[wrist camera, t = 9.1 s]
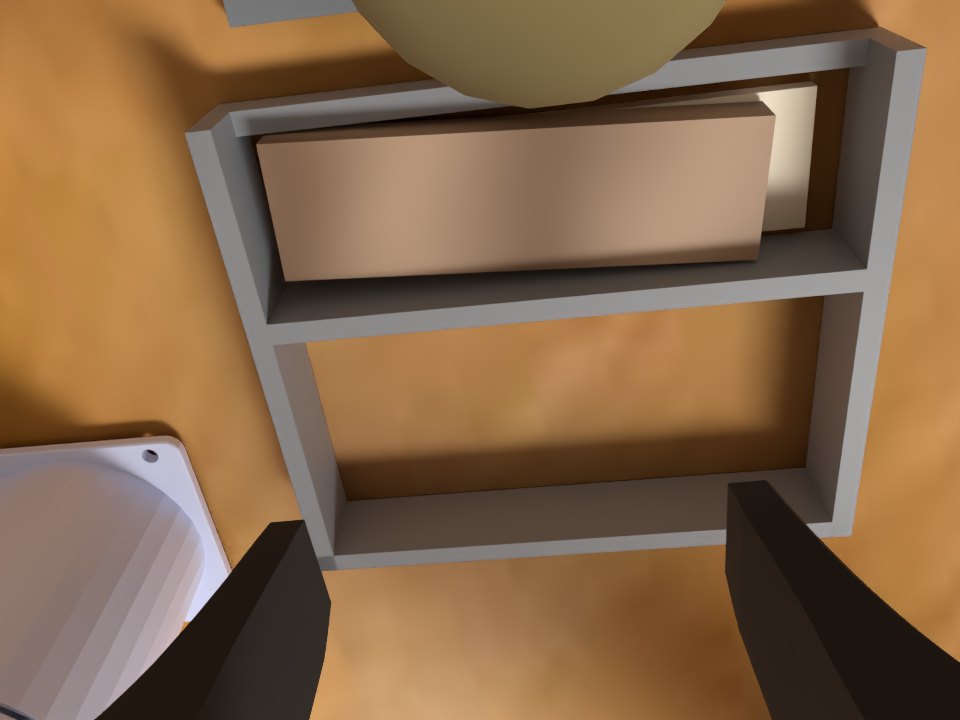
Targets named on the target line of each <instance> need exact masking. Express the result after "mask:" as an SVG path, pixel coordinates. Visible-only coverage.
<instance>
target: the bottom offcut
mask: <svg viewBox="0 0 960 720" xmlns="http://www.w3.org/2000/svg"><path fill="white" fill-rule="evenodd" d="M816 96H817V85H816V84H814V83H813V82H812V81H806V82H797V83H788V84H780V85H771V86H762V87H754V88H745V89H736V90H728V91H719V92H710V93H702V94H693V95H684V96H676V97H667V98H658V99H650V100H641V101H632V102H623V103H615V104H606V105H597V106H589V107H580V108H571V109H563V110H554V111H545V112H537V113H528V114H543V113H561V112H578V111H596V110H613V109H631V108H648V107H666V106H683V105H701V104H718V103H736V102H753V101H763V102H764V103H765V104H766V105H767V106H768V107H769V108H770V109H771V111H772V112H773V113H774V114H775V115H776V120H775V128H774V136H773V144H772V152H771V160H770V168H769V175H768V183H767V191H766V199H765V207H764V215H763V223H762V231H772V230H782V229H792V228H802V227H805V218H806V207H807V196H808V185H809V174H810V163H811V151H812V140H813V129H814V118H815V107H816ZM519 115H526V114H519ZM762 231H761V232H762Z"/></svg>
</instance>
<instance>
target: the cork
mask: <svg viewBox="0 0 960 720" xmlns="http://www.w3.org/2000/svg"><path fill="white" fill-rule="evenodd" d="M352 1H353V3H354V5H355V7H356V9H357V11H358V12H359V13H360V14H361V15H362V16H363V17H364V18H365V19H366V20H367V21H368V22H369V23H370V24H371V26H372V27H373V28H374V29H375V30H376V31H377V32H378V33H379V34H380V35H381V36H382V37H383V38H384V39H385V40H386V41H387V43H388V44H389V45H390V46H391V47H392V48H393V49H394V50H395V51H396V52H397V53H398V54H399V55H400V56H401V57H402V59H403V60H404V61H405V62H407V63H408V64H410V65H412V66H414V67H415V68H417V69H419V70H421V71H422V72H424V73H426V74H428V75H429V76H431V77H433V78H435V79H437V80H438V81H440V82H442V83H444V84H445V85H447V86H449V87H451V88H452V89H454V90H456V91H458V92H460V93H461V94H463V95H465V96H469V97H474V98H479V99H484V100H489V101H494V102H499V103H504V104H509V105H514V106H519V107H524V108H538V107H546V106H555V105H563V104H571V103H580V102H588V101H594V100H597V99H599V98H601V97H603V96H605V95H608V94H610V93H612V92H614V91H616V90H619V89H621V88H623V87H625V86H627V85H630V84H632V83H634V82H636V81H638V80H641V79H643V78H645V77H647V76H649V75H652V74H654V73H656V72H657V71H658V70H659V69H660V68H662V67H663V66H664V65H665V64H666V63H667V62H669V61H670V60H671V59H672V58H673V57H674V56H675V55H677V54H678V53H679V52H680V51H681V50H682V49H683V48H685V47H686V46H687V45H688V44H689V43H690V42H691V41H693V40H694V39H695V38H696V37H697V36H698V35H700V34H701V33H702V32H703V31H704V30H705V29H706V28H708V27H709V26H710V25H711V24H712V22H713V21H714V19H715V18H716V16H717V15H718V13H719V12H720V10H721V9H722V7H723V6H724V4H725V2H726V1H727V0H352Z"/></svg>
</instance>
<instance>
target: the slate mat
mask: <svg viewBox="0 0 960 720" xmlns="http://www.w3.org/2000/svg"><path fill="white" fill-rule="evenodd" d="M223 3H224V7H225V11H226V15H227V19H228V22H229V26H230V27H238V26H246V25H254V24H262V23H270V22H278V21H286V20H294V19H302V18H310V17H318V16H326V15H334V14H342V13H350V12H358V11H357V9H356V7H355V5H354V3H353V1H352V0H223Z"/></svg>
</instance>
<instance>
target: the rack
mask: <svg viewBox="0 0 960 720" xmlns="http://www.w3.org/2000/svg"><path fill="white" fill-rule="evenodd" d="M926 51H927V48H926V47H924V46H921V45H919V44H917V43H915V42H913V41H911V40H908V39H906V38H904V37H902V36H900V35H897V34H895V33H893V32H891V31H889V30H886V29H884V28H882V27H874V28H865V29H856V30H848V31H839V32H831V33H822V34H814V35H805V36H797V37H788V38H780V39H771V40H762V41H754V42H745V43H737V44H728V45H720V46H711V47H703V48H694V49H686V50H681V51H680V52H679V53H678V54H677V55H675V56H674V57H673V58H672V59H671V60H670V61H669V62H667V63H666V64H665V65H664V66H663V67H662V68H660V69H659V70H658V71H657V72H656V73H654V74H652V75H649V76H647V77H645V78H643V79H641V80H638V81H636V82H634V83H632V84H630V85H627V86H625V87H623V88H621V89H619V90H616V91H614V92H612V93H610V94H608V95H612V94H620V93H629V92H638V91H647V90H656V89H664V88H673V87H682V86H691V85H700V84H709V83H717V82H726V81H735V80H744V79H753V78H762V77H770V76H779V75H788V74H797V73H806V72H815V71H823V70H832V69H841V68H850V69H849V78H848V87H847V96H846V105H845V114H844V123H843V132H842V141H841V150H840V159H839V169H838V178H837V187H836V196H835V205H834V214H833V223H832V229H825V230H815V231H805V232H795V233H784V234H774V235H764V236H761V239H760V247H759V255H758V260H742V261H720V262H698V263H676V264H654V265H632V266H611V267H589V268H567V269H545V270H523V271H501V272H479V273H457V274H435V275H413V276H391V277H369V278H347V279H325V280H303V281H291V282H289V281H285V277H284V272H283V268H282V263H281V258H280V254H279V249H278V244H277V240H276V235H275V230H274V226H273V221H272V216H271V212H270V209H269V205H268V201H267V197H266V194H265V190H264V186H263V182H262V179H261V175H260V171H259V167H258V163H257V160H256V156H255V152H254V148H253V145H252V141H251V137H250V135H258V134H267V133H276V132H285V131H294V130H303V129H311V128H320V127H329V126H338V125H347V124H356V123H364V122H373V121H382V120H391V119H400V118H409V117H417V116H426V115H435V114H444V113H453V112H461V111H470V110H479V109H488V108H497V107H506V106H514V105H509V104H504V103H499V102H494V101H489V100H484V99H479V98H474V97H469V96H465V95H463V94H461V93H460V92H458V91H456V90H454V89H452V88H451V87H449V86H447V85H445V84H444V83H442V82H440V81H438V80H437V79H429V80H421V81H412V82H404V83H395V84H387V85H378V86H369V87H361V88H352V89H344V90H335V91H327V92H318V93H310V94H301V95H293V96H284V97H275V98H267V99H258V100H250V101H241V102H233V103H224V104H218V105H216V106H215V107H214V108H213V109H212V110H211V111H209V112H208V113H207V114H206V115H205V116H204V117H202V118H201V119H200V120H199V121H198V122H197V123H195V124H194V125H193V126H192V127H191V128H190V129H188V130H187V131H186V132H185V137H186V140H187V143H188V146H189V150H190V153H191V156H192V159H193V163H194V166H195V169H196V173H197V176H198V179H199V182H200V186H201V189H202V192H203V195H204V199H205V202H206V205H207V208H208V212H209V215H210V218H211V221H212V225H213V228H214V231H215V235H216V238H217V241H218V244H219V248H220V251H221V254H222V257H223V261H224V264H225V267H226V270H227V274H228V277H229V280H230V283H231V287H232V290H233V293H234V297H235V300H236V303H237V306H238V310H239V313H240V316H241V319H242V323H243V326H244V329H245V332H246V336H247V339H248V342H249V345H250V349H251V352H252V355H253V359H254V362H255V365H256V368H257V372H258V375H259V378H260V381H261V385H262V388H263V391H264V394H265V398H266V401H267V404H268V407H269V411H270V414H271V417H272V421H273V424H274V427H275V430H276V434H277V437H278V440H279V443H280V447H281V450H282V453H283V456H284V460H285V463H286V466H287V469H288V473H289V476H290V479H291V483H292V486H293V489H294V492H295V496H296V499H297V502H298V505H299V509H300V512H301V515H302V518H303V520H305V523H306V526H307V529H308V532H309V535H310V538H311V542H312V545H313V548H314V551H315V554H316V557H317V560H318V563H319V566H320V569H321V571H329V570H344V569H359V568H375V567H390V566H405V565H420V564H435V563H450V562H465V561H480V560H495V559H511V558H526V557H541V556H556V555H571V554H586V553H601V552H616V551H631V550H647V549H662V548H677V547H692V546H707V545H722V544H726V527H727V493H728V483H735V482H747V481H759V480H766V481H768V482H769V483H770V484H771V485H772V486H773V487H774V488H775V489H776V490H777V492H778V493H779V494H780V495H781V496H782V498H783V499H784V500H785V501H786V502H787V503H788V504H789V506H790V507H791V508H792V509H793V510H794V511H795V512H796V514H797V515H798V516H799V517H800V518H801V519H802V520H803V521H804V522H805V523H806V525H807V526H808V527H809V528H810V529H811V530H812V531H813V532H814V533H815V534H816V535H817V536H818V538H828V537H843V536H851V534H852V528H853V522H854V515H855V509H856V502H857V496H858V489H859V483H860V476H861V470H862V464H863V457H864V451H865V444H866V438H867V431H868V425H869V418H870V412H871V406H872V399H873V393H874V386H875V380H876V373H877V367H878V360H879V354H880V348H881V341H882V335H883V328H884V322H885V315H886V309H887V302H888V296H889V290H890V283H891V277H892V270H893V264H894V257H895V251H896V244H897V238H898V232H899V225H900V219H901V212H902V206H903V199H904V193H905V187H906V180H907V174H908V167H909V161H910V154H911V148H912V141H913V135H914V129H915V122H916V116H917V109H918V103H919V96H920V90H921V83H922V77H923V71H924V64H925V58H926ZM821 295H825V296H824V305H823V314H822V323H821V332H820V341H819V350H818V359H817V369H816V378H815V387H814V396H813V405H812V414H811V423H810V432H809V441H808V450H807V459H806V468H792V469H778V470H765V471H751V472H737V473H724V474H710V475H697V476H683V477H669V478H656V479H642V480H628V481H615V482H601V483H588V484H574V485H560V486H547V487H533V488H519V489H506V490H492V491H478V492H465V493H451V494H438V495H424V496H410V497H397V498H383V499H369V500H356V501H347V499H346V495H345V491H344V488H343V484H342V480H341V476H340V473H339V469H338V465H337V461H336V457H335V454H334V450H333V446H332V442H331V439H330V435H329V431H328V427H327V424H326V420H325V416H324V412H323V408H322V405H321V401H320V397H319V393H318V390H317V386H316V382H315V378H314V375H313V371H312V367H311V363H310V359H309V356H308V352H307V348H306V344H305V342H313V341H324V340H335V339H346V338H357V337H368V336H379V335H390V334H401V333H413V332H424V331H435V330H446V329H457V328H468V327H479V326H490V325H501V324H512V323H523V322H534V321H545V320H556V319H567V318H578V317H589V316H600V315H611V314H622V313H633V312H644V311H655V310H666V309H677V308H688V307H699V306H710V305H721V304H733V303H744V302H755V301H766V300H777V299H788V298H799V297H810V296H821Z"/></svg>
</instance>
